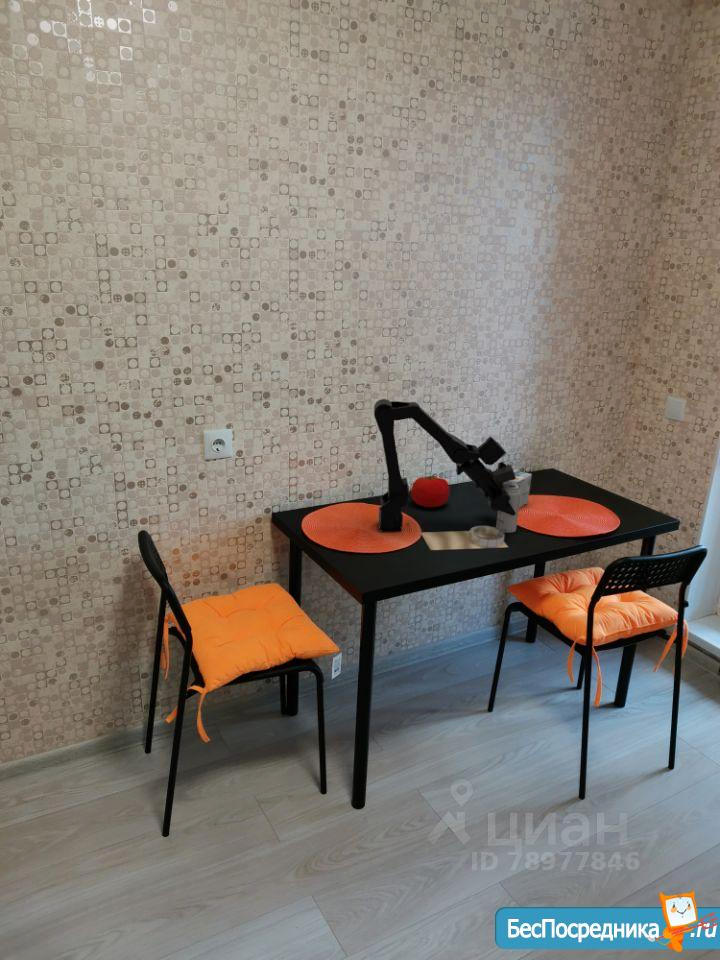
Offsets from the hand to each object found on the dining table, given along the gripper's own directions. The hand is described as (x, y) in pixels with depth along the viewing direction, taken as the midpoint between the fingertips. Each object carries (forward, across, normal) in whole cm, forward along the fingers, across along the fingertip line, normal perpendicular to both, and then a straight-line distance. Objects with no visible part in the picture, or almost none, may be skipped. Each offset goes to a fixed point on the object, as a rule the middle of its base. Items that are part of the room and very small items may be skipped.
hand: (512, 510), depth 222 cm
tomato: (-11, +20, +22) cm, 31 cm away
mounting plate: (-6, -10, +16) cm, 19 cm away
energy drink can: (+4, 0, +6) cm, 7 cm away
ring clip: (-2, -9, +10) cm, 14 cm away
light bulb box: (+9, +22, +2) cm, 24 cm away
